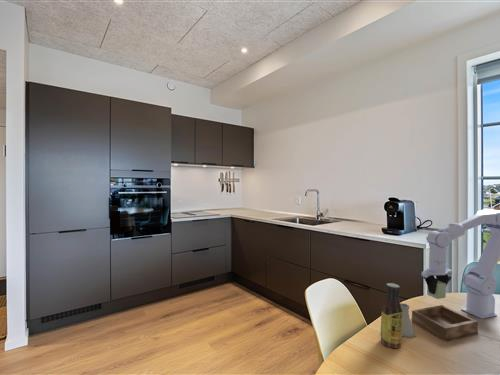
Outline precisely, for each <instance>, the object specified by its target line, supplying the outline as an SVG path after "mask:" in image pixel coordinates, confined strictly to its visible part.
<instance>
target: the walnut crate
mask: <svg viewBox="0 0 500 375" xmlns="http://www.w3.org/2000/svg"><path fill="white" fill-rule="evenodd" d="M411 323H413V324H415V325H417V326H418V327H420V328H421V329H423V330H425V331H427V332H429V333H430V334H432V335H434V336H435V337H437V338H439V339H440V340H442V341H444V342H449V341H453V340H458V339H463V338H465V337H471V336H474V335H477V334H479V333H478V332H479V330H478V329H479V321H478V320H476V319H474V318H472V317H470V316H467V315H466V314H463V313H460V312H459V311H456V310H454V309H452V308H449V307H447V306H446V305H442V304H441V305H434V306H430V307H429V306H428V307H425V308H418V309H414V310H413V309H412V310H411Z"/></svg>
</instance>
